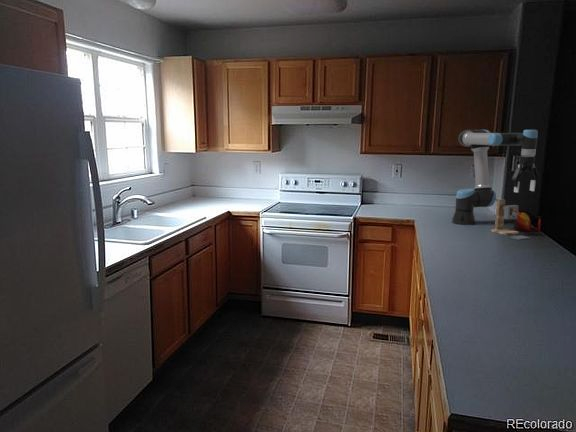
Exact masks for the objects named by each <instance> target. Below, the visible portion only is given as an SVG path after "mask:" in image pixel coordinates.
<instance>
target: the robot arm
mask: <svg viewBox="0 0 576 432" xmlns="http://www.w3.org/2000/svg"><path fill="white" fill-rule="evenodd" d="M538 133H539V132H538V130H537V129H524V130H523V132H491V131H490V130H488V129H465V130H463V131H461V132H460V133H459V134H458V139H457V140H458V143H459V144H460V145H461V146H463V147H466V148H467V147H468V148H469V147H470V150H471V152H473V164H474V165H473V167H474V181H475V182H474V183H475V186H474V187H473V188H462V189H459V190H457V191H456V195H455V209H454V211H455V212H454V214H453V217H451V222H452V224H455V225H463V226H465V225H471V226H472V225H475V224H476V219H475V213H474V208H489V207H492V206H494V203H496V201H497V194H496V191H495V190H493V188H492V186H491V185H490V181H489V180H490V179H489V177H490V175H489V163H488V161H489V159H488V150H489V149H490V146H492V147H493V146H494V147H498V146H500V147H501V146H519V147H520V146H521V151H520V160H519V161H520V162H519V163H521V164H517V165H516V169H515V171H514V173H513V175H512V178H511V181H512V182H514V183H513V193H516V194H517V193H520V191H519V190H520V183H521V182H520V180H521V179H522V177H523V175H524V174H525V173H528V174H529V176H530V178H531V180H530V183H529V191H531V192H535V189H536V185H537V184H536V183H537V181H538V180H539V179H540V176H539V171H538V164H537V163H536V162H535V161H536V153H537V151H536V150H537V145H538V137H539V136H538V135H539V134H538Z"/></svg>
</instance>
